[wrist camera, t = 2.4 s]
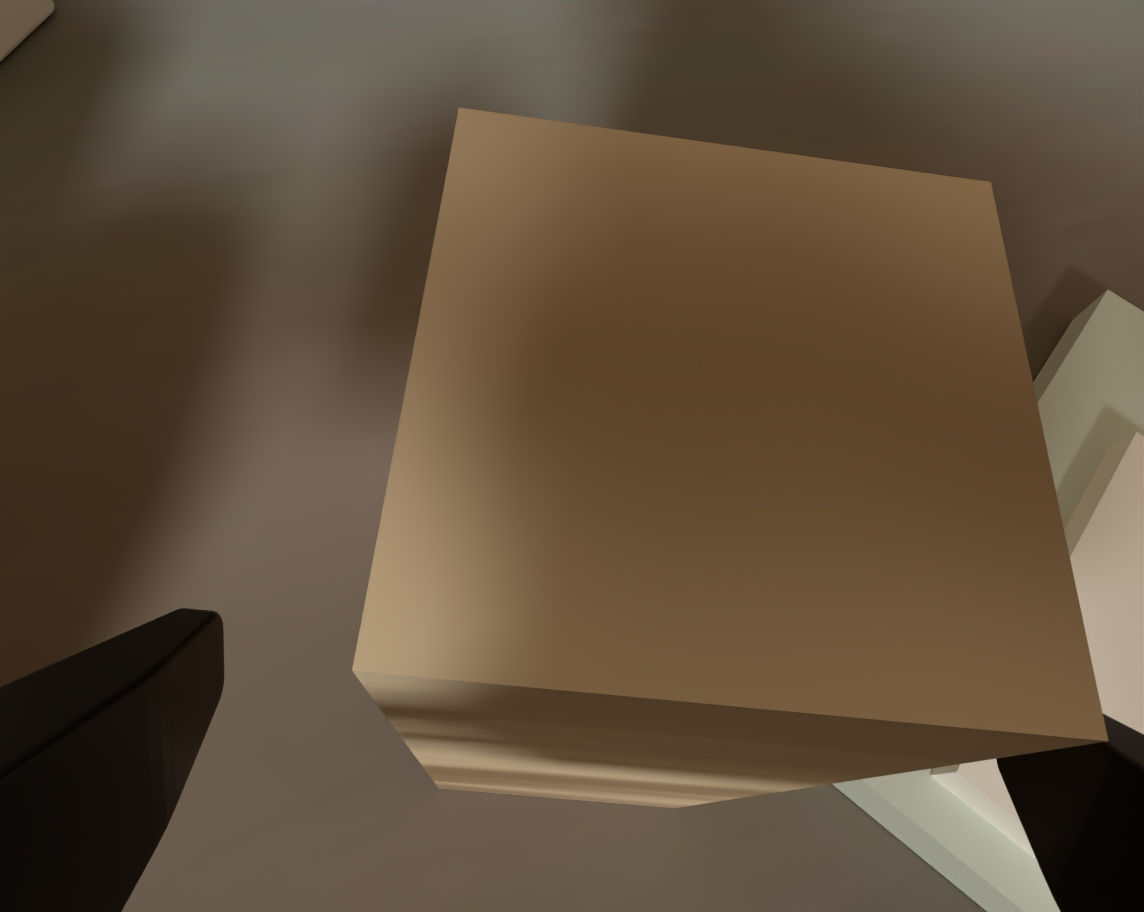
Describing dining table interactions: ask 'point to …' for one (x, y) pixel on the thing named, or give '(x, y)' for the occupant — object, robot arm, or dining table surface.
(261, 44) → the dining table surface
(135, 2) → the dining table surface
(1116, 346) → the board
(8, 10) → the jar
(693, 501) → the pillar block
